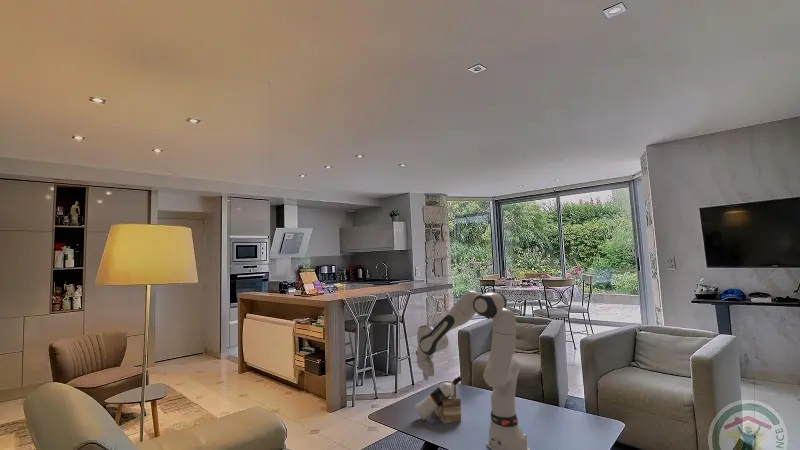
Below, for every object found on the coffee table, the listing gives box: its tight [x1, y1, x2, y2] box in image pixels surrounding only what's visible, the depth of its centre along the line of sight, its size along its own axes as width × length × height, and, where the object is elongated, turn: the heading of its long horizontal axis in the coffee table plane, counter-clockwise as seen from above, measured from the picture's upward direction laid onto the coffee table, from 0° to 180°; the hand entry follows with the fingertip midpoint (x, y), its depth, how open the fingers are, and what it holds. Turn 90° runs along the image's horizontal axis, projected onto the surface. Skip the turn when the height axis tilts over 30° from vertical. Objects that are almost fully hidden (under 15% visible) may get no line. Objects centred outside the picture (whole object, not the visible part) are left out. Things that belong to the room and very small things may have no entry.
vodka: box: [414, 375, 463, 421], centre depth 212 cm, size 9×9×30 cm
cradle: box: [432, 389, 462, 424], centre depth 215 cm, size 17×10×12 cm, turn 14°
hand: (425, 379), depth 213 cm, fingers closed
